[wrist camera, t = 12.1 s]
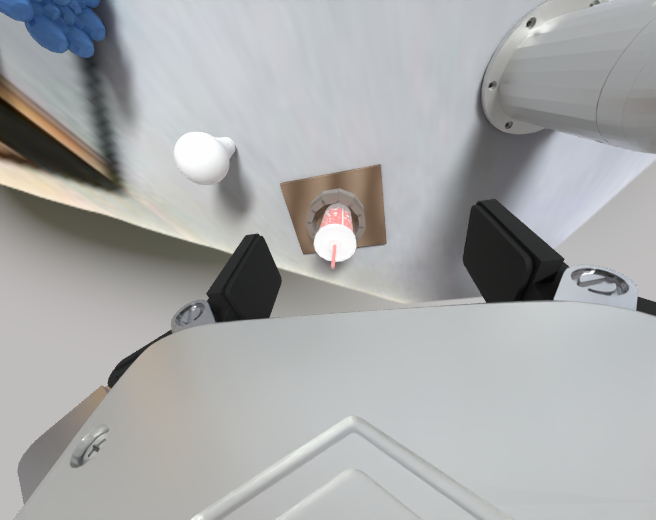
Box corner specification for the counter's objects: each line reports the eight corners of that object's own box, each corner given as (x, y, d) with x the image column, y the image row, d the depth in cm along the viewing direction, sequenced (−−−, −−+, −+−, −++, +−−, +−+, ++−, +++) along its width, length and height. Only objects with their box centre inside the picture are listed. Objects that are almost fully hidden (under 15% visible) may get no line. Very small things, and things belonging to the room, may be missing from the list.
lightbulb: (253, 166, 37) (222, 192, 29) (216, 165, 38) (175, 192, 29) (244, 121, 34) (206, 137, 25) (203, 121, 34) (152, 137, 25)
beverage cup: (314, 223, 42) (301, 275, 31) (328, 193, 38) (318, 240, 27) (346, 235, 43) (344, 290, 32) (362, 207, 39) (366, 258, 28)
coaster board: (380, 164, 36) (382, 173, 32) (386, 241, 44) (388, 253, 41) (281, 182, 39) (274, 192, 35) (303, 251, 47) (300, 263, 44)
